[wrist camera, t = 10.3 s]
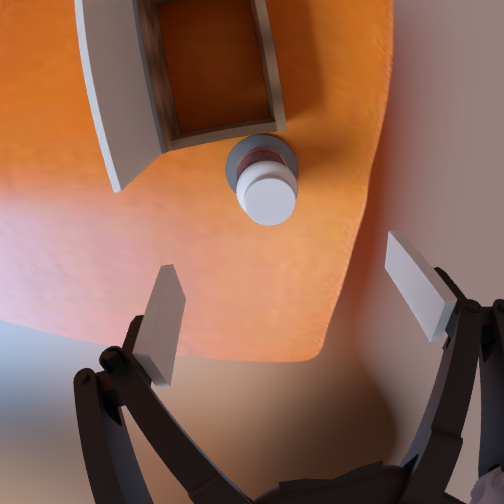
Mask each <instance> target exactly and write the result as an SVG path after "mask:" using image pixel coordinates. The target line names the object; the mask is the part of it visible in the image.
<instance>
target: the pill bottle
mask: <svg viewBox="0 0 504 504" xmlns="http://www.w3.org/2000/svg"><path fill="white" fill-rule="evenodd" d="M236 193H237V198H238V201H239V204H240V205H241V207H242V208H243V209H244V210H245V211H246V212H247V213H248V215H249V216H250V217H251V218H252V219H253V220H254V221H255V222H257V223H259V224H262V225H268V226H271V225H277V224H280V223H282V222H284V221H285V220H287V219H288V218H289V217H290V216H291V214H292V213H293V211H294V209H295V205H296V198H297V194H298V185H297V181H296V179H295V177H294V175H293V173H292V171H291V170H290V168H289V166H288V165H287V163H286V162H285V160H284V158H283V157H282V156H281V155H280V154H279V153H278V152H277V151H275V150H273V149H271V148H268V147H256V148H253V149H250V150H249V151H247V152H246V153H245V154H244V155H243V156H242V157H241V158H240V160H239V162H238V165H237V180H236Z"/></svg>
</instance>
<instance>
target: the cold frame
mask: <svg viewBox="0 0 504 504" xmlns="http://www.w3.org/2000/svg"><path fill="white" fill-rule="evenodd" d="M173 1H177V0H138V7H139V14H140V21H141V27H142V33H143V39H144V45H145V51H146V56H147V62H148V67H149V72H150V77H151V82H152V87H153V92H154V97H155V102H156V106H157V111H158V115H159V120H160V124H161V129H162V133H163V137H164V141H165V146H166V150H167V152H168V151H172V150H176V149H181V148H185V147H190V146H194V145H199V144H204V143H209V142H214V141H219V140H224V139H230V138H236V137H242V136H248V135H254V134H261V133H268V132H275V131H283V130H287V126H286V119H285V112H284V105H283V98H282V92H281V85H280V79H279V73H278V67H277V61H276V55H275V49H274V43H273V38H272V33H271V27H270V22H269V17H268V12H267V7H266V2H265V0H250V5H251V10H252V15H253V20H254V25H255V30H256V36H257V41H258V47H259V52H260V58H261V63H262V69H263V75H264V81H265V87H266V93H267V100H268V106H269V112H270V117H267V118H260V119H253V120H247V121H241V122H235V123H229V124H224V125H218V126H213V127H208V128H203V129H199V130H194V131H189V132H185V133H181V130H180V125H179V121H178V116H177V111H176V107H175V102H174V97H173V92H172V87H171V82H170V77H169V72H168V67H167V61H166V56H165V51H164V45H163V39H162V34H161V28H160V22H159V16H158V10H157V6H159V5H162V4H166V3H169V2H173Z"/></svg>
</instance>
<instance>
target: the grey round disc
mask: <svg viewBox="0 0 504 504" xmlns="http://www.w3.org/2000/svg"><path fill="white" fill-rule="evenodd" d="M256 147H268V148H271V149H273V150H275V151H277V152H278V153H279V154H280V155H281V156H282V157H283V158H284V160H285V162H286V163H287V165H288V166H289V168H290V170H291V171H292V173H293V175H294V177H295V179H296V178H297V172H298V165H297V160H296V157H295V155H294V153H293V151H292V150H291V148H290V147H289V146H288V145H287V144H286V143H285V142H283V141H282V140H280V139H278V138H276V137H274V136H270V135H254V136H250V137H247V138H245V139H243V140H242V141H240V142H239V143H238V144H237V145H236V146H235V147H234V148H233V149H232V151H231V152H230V154H229V156H228V159H227V163H226V177H227V180H228V183H229V185H230V187H231V188H232V189H233V191H234V192H235V193H236V180H237V165H238V162H239V160H240V158H241V157H242V156H243V155H244V154H245V153H246V152H247V151H249V150H250V149H253V148H256ZM236 194H237V193H236Z"/></svg>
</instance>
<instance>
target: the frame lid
mask: <svg viewBox="0 0 504 504" xmlns="http://www.w3.org/2000/svg"><path fill="white" fill-rule="evenodd" d="M75 13H76V24H77V32H78V40H79V48H80V55H81V61H82V67H83V73H84V78H85V83H86V89H87V94H88V98H89V103H90V107H91V112H92V116H93V120H94V124H95V128H96V132H97V136H98V140H99V144H100V147H101V151H102V155H103V158H104V162H105V165H106V168H107V172H108V175H109V178H110V181H111V184H112V188H113V191H114V193H116V192H119V191H122V190H123V189H124V188H125V187H126V186H127V185H128V184H129V183H130V182H131V181H132V180H133V179H135V178H136V177H137V176H138V175H139V174H140V173H141V172H142V171H143V170H144V169H145V168H147V167H148V166H149V165H150V164H151V163H152V162H153V161H154V160H156V159H157V158H158V157H159V156H160V155H161V154H163V153H166V152H167V150H166V146H165V141H164V137H163V133H162V129H161V124H160V120H159V115H158V111H157V106H156V102H155V97H154V92H153V87H152V82H151V77H150V72H149V67H148V62H147V56H146V51H145V45H144V39H143V33H142V27H141V21H140V14H139V7H138V0H75Z"/></svg>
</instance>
